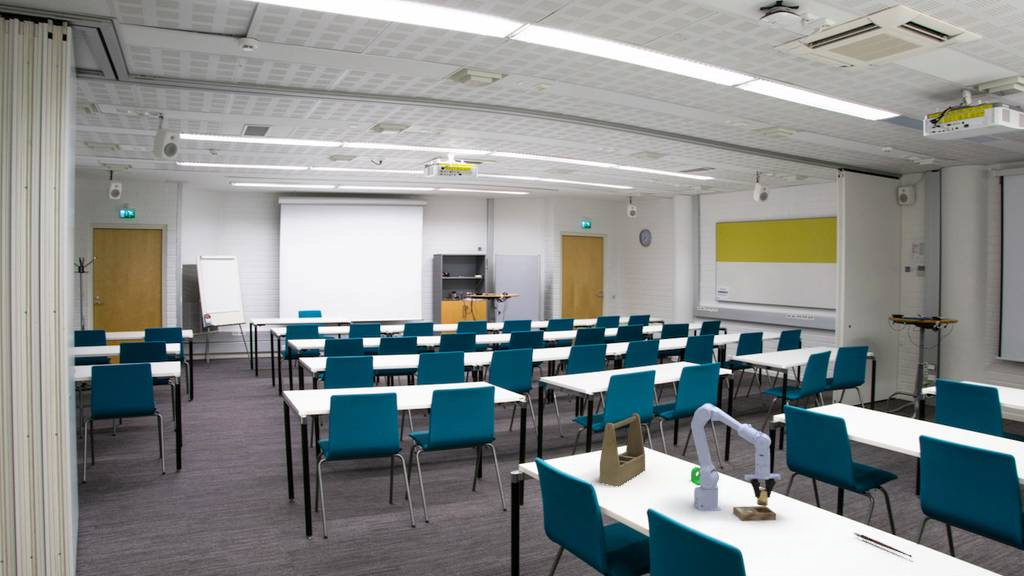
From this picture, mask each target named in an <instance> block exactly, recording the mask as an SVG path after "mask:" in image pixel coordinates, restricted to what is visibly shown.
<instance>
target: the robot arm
mask: <svg viewBox="0 0 1024 576" xmlns="http://www.w3.org/2000/svg"><path fill="white" fill-rule="evenodd" d="M692 417H693V418H692V420H691V422H690V427H691V432H692V436H693V441H694V446H695V449H696V453H697V459H698V463H699V468H700V479H699V481H700V484H701V485H699V486H697V487H695V488H694V491H693V492H694V494H693V496H694V501H693V502H694V503H693V506H695V508H697V510H699V512H706V511H708V512H709V511H711V512H712V511H713V512H714V511H722V510H723V509H722V508H721V507H720V506H719V487H718V482H719V480H720V479H719V478H720V476H719V472H718V471H717V470H716V467H715V465H714V463H713V462H712V458H711V453H710V449H709V444H708V441H707V437H706V436H707V435H706V433H705V432H706V431H705V429H704V427H705V425H706V424H707V422H709V420H710V419H711V421H713V422H717V421H718V422H719V421H720V422H722V423H723V424H725V425H726V426H728V427H730V428H731V429H733V430H735V431H737V434H738V436H740V438H743V439H744V440H746V441H747V442H749V443H750V444H752V445H753V446H754V447H755V455H754V456H755V458H754V468H755V469H754V473H749V474H748V473H747V474H744V480H745V481H749V482H750V484H751V486H752V489H753V492H754V497H755V498H759V488H761V487H760V485H761V482H759V480H760V481H761V480H763V481H764V482H765V489H767V490H768V499H769V498H770V497H771V494H772V491H773V488H774V487H775V485H776V480H778V481H781V478H782V477H781V475H782V474H780V473H771V449H770V446H771V444H772V440H771V437H770V436H769V435H768V434H766V433H763V432H762V431H758V430H757V429H755V428H753V427H752V424H750V423H748V424H747V423H740V422H739V421H738V420H736V419H734V418H733V417H732V416H730V415H729V414H727V413H726V412H724V411H723V410H722V409H720V408H719V407H717V406H715V405H713V404H712V403H709V402H708V403H704V404H703V405H702V406H700V407H698V408H697V409H696V411H694V415H693V416H692ZM717 481H718V482H717ZM716 482H717V483H716Z"/></svg>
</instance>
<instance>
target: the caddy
mask: <svg viewBox="0 0 1024 576" xmlns="http://www.w3.org/2000/svg"><path fill="white" fill-rule="evenodd" d="M628 424H629V428H628V433H627V434H628V435H627V442H626V448H625V451H624V452H622V453H619V450H618V449H619V448H618V443H617V437H616V431H615V430H616V429H619V428H621V427H624V426H626V425H628ZM604 426H605V427H604V432H603V440H602V444H601V445H602V446H601V452H600V453H601V454H600V461H599V483H600V484H602V483H604V484H603V485H606V484H608V485H607V486H611V485H613V486H612V487H616V486H618V487H617V488H620V487H621V485H622V486H623V485H625V484H626V483H628V482H629V480H630V481H631V480H633V479H635V478H637V477H638V476H639V475H641V474H643V473H644V472H645V471H646V453H645V451H646V450H645V446H644V439H643V438H644V437H643V432H642V424H641V417H640V415H639V414H638V413H632V414H631V416H630V417H628V418H626V419H624V420H621V421H617V422H616V423H612V422H607V423H606V424H605V425H604ZM643 471H644V472H643ZM642 472H643V473H642ZM640 473H641V474H640ZM637 475H638V476H637ZM634 477H635V478H634ZM632 478H633V479H632ZM627 481H628V482H627ZM624 483H625V484H624ZM619 486H620V487H619Z"/></svg>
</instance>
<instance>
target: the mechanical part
mask: <svg viewBox="0 0 1024 576" xmlns="http://www.w3.org/2000/svg"><path fill="white" fill-rule="evenodd" d="M697 473H698V474H697ZM690 477H691V478H690V482H691V481H692V483H693V484H694V485H696V486H700V485H701V484H700V481H699V479H700V466H695V467H693V468H692V469H691V471H690ZM718 482H719V480H718V481H717V482H716V483H717V484H718Z"/></svg>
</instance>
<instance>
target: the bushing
mask: <svg viewBox="0 0 1024 576" xmlns="http://www.w3.org/2000/svg"><path fill="white" fill-rule="evenodd" d="M756 498H757V497H756ZM768 501H769V498H768V490H767V489H766V488H761V487H759V498H757V499H756V503H757V506H766V507H767V506H768V504H769V503H768Z"/></svg>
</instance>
